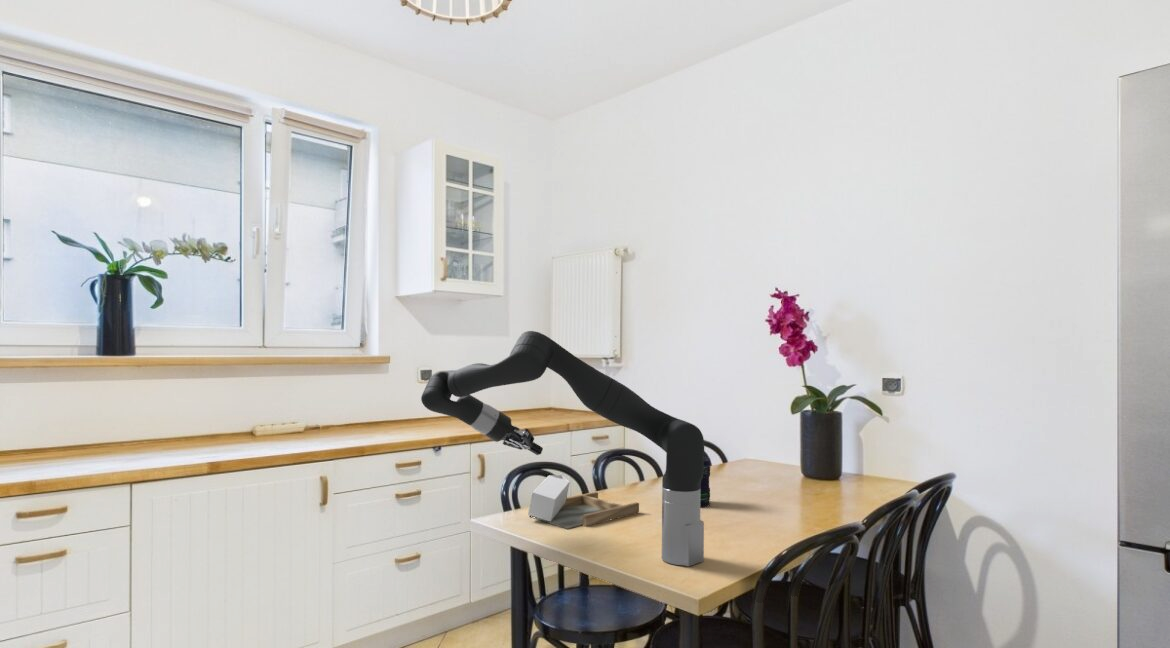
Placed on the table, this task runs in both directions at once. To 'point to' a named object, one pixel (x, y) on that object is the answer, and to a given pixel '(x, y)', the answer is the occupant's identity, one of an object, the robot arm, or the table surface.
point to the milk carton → (549, 497)
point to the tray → (589, 511)
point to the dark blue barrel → (705, 484)
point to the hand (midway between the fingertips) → (540, 451)
